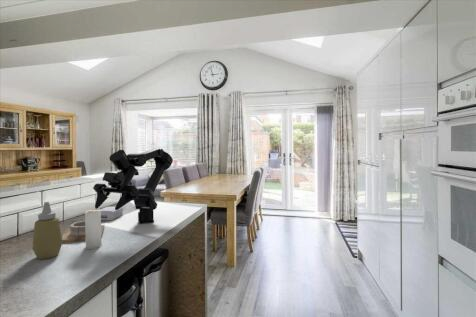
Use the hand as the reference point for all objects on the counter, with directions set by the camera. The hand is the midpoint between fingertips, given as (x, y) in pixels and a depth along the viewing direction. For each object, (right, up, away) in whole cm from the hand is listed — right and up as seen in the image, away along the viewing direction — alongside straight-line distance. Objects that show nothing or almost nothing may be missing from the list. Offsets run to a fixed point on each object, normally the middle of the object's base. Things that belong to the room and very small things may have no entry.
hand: (105, 208), depth 98 cm
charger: (-15, -11, +35) cm, 40 cm away
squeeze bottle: (-12, -13, -13) cm, 22 cm away
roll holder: (-12, -12, +6) cm, 18 cm away
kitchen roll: (-2, -13, -5) cm, 14 cm away
